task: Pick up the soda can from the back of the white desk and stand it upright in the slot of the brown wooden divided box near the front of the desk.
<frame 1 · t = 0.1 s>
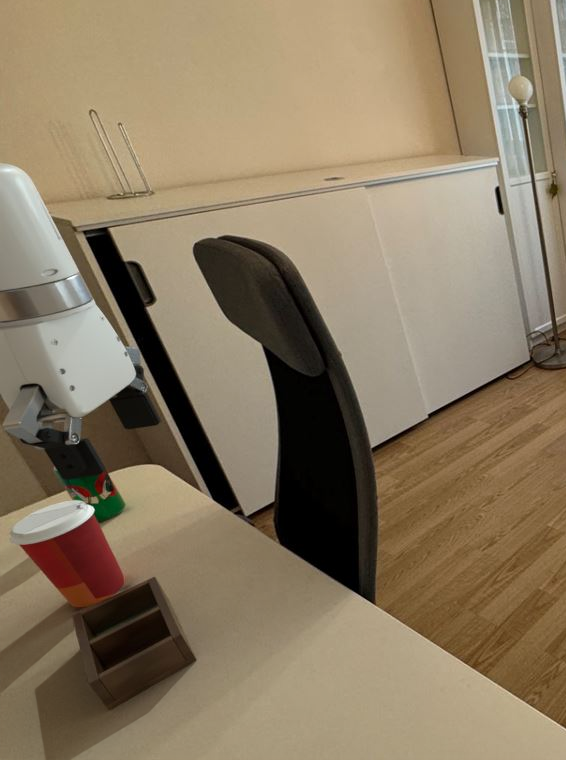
hand: (116, 449, 60), 31 cm above the table, tool pointing down, fingers open, 9 cm apart
paper cup: (99, 592, 81), on the table
soda can: (107, 514, 96), on the table
brown wooden divided box: (142, 650, 72), on the table
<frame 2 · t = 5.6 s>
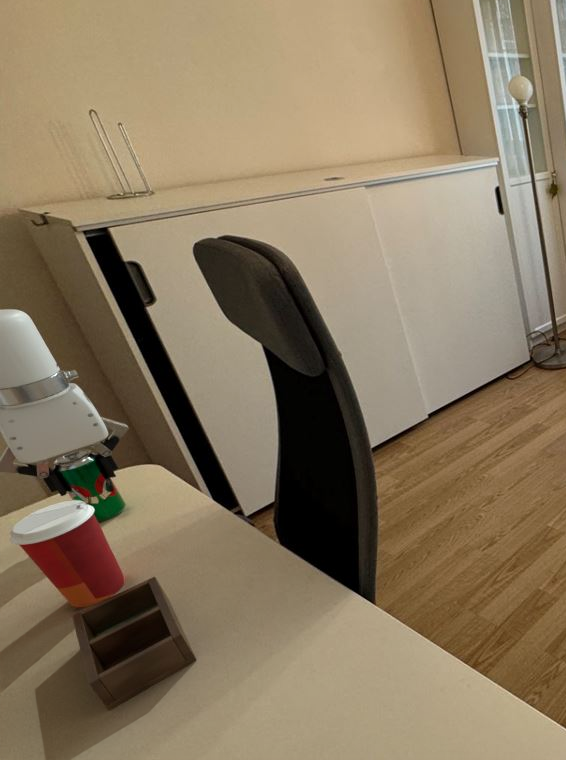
hand: (87, 482, 93), 7 cm above the table, tool pointing down, fingers closed on soda can, 5 cm apart
soda can: (107, 514, 96), on the table, touching gripper
everything else where it was.
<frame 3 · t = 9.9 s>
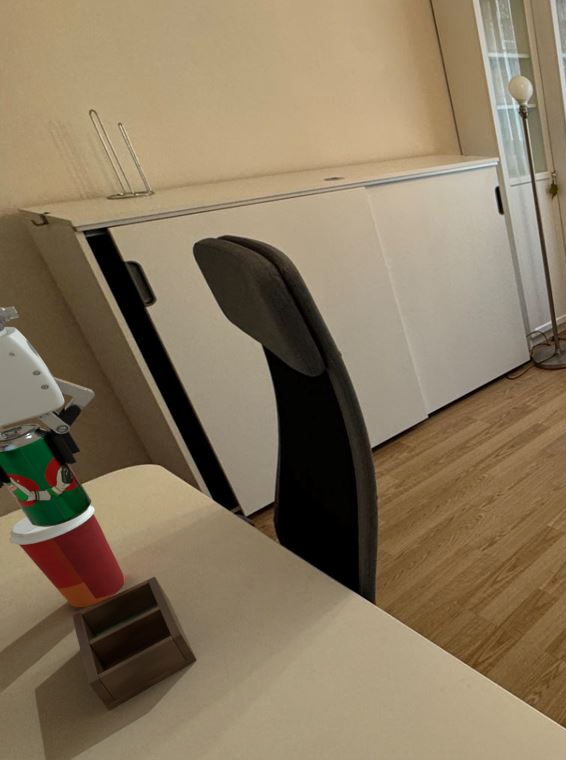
hand: (35, 470, 66), 25 cm above the table, tool pointing down, fingers closed on soda can, 5 cm apart
soda can: (65, 516, 68), point 18 cm above the table, touching gripper
everything else where it was.
when the fingers open (8 cm above the table, at t = 14.4 s): soda can stays where it is, resting on brown wooden divided box.
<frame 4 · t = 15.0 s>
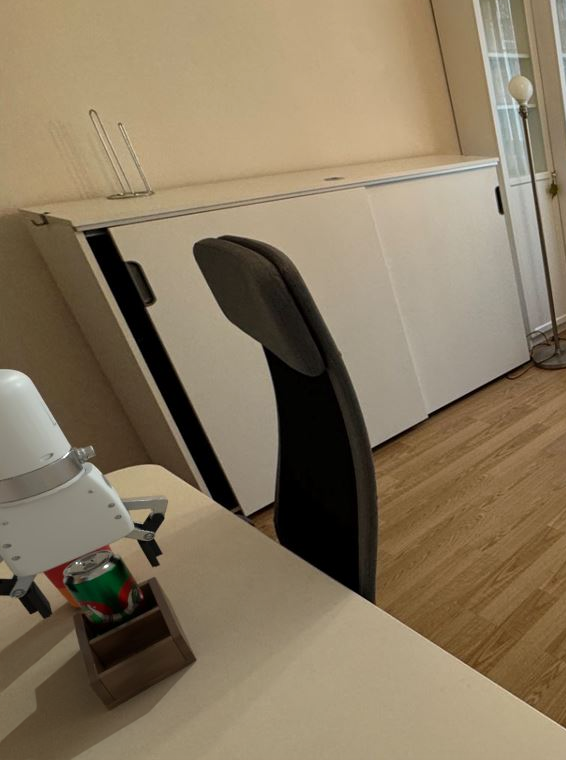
hand: (103, 585, 70), 9 cm above the table, tool pointing down, fingers open, 9 cm apart
soda can: (133, 631, 73), point 1 cm above the table, touching brown wooden divided box
everything else where it was.
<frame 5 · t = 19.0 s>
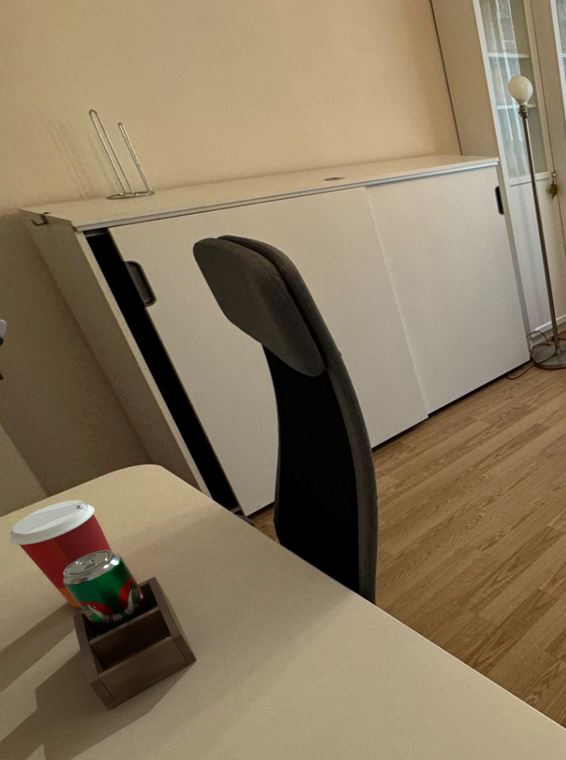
nothing on the table moved.
at the end: soda can 0.1 cm from the target spot in the brown wooden divided box, point 0.8 cm above the brown wooden divided box's base; soda can tilted 0°; the gripper is holding nothing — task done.
